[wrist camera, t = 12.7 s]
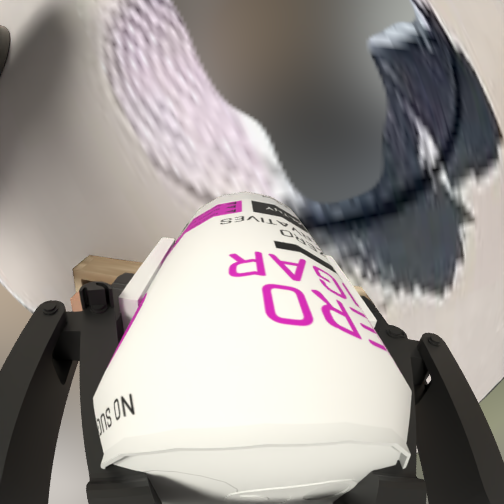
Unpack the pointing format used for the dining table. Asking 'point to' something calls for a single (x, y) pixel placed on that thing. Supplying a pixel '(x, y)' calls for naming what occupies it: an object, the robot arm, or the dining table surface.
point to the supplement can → (251, 370)
